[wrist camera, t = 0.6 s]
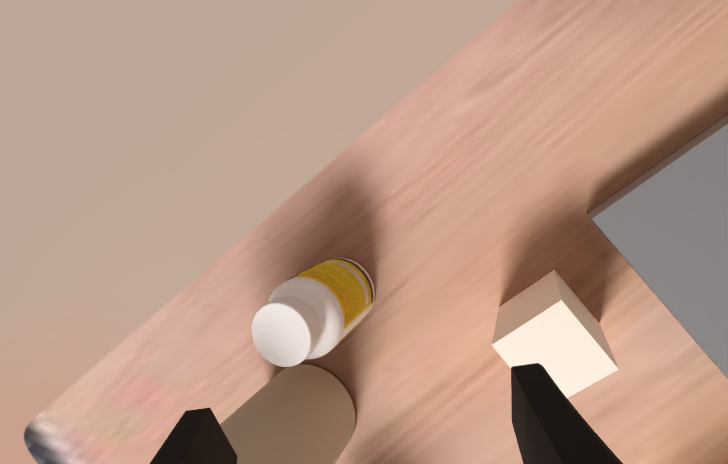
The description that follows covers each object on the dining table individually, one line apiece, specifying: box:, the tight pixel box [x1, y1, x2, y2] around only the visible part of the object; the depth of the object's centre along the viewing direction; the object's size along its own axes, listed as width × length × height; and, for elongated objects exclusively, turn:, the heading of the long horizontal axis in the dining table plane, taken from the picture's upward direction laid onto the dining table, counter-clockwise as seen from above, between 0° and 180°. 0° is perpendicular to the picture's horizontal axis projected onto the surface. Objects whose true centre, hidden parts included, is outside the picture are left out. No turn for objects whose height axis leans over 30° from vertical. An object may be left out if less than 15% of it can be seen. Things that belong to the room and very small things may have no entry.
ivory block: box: [492, 270, 619, 398], centre depth 28 cm, size 4×4×7 cm
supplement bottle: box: [251, 257, 375, 367], centre depth 32 cm, size 5×5×10 cm
